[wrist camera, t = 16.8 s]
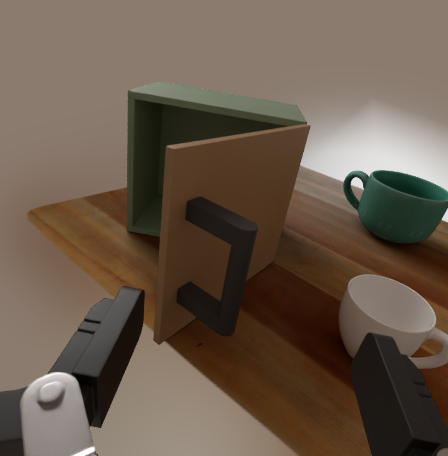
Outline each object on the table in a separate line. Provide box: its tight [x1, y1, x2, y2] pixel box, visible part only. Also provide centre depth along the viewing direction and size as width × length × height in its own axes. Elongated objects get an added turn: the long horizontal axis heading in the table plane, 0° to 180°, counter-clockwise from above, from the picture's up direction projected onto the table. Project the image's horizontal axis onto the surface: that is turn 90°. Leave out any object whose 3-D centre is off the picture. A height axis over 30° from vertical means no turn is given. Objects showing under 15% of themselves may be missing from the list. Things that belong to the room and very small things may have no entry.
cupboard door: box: [153, 124, 310, 344], centre depth 32 cm, size 7×21×18 cm, turn 141°
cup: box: [338, 274, 448, 369], centre depth 31 cm, size 8×10×7 cm
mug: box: [343, 170, 448, 243], centre depth 57 cm, size 17×13×10 cm
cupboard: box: [127, 81, 307, 237], centre depth 47 cm, size 13×21×19 cm, turn 84°
